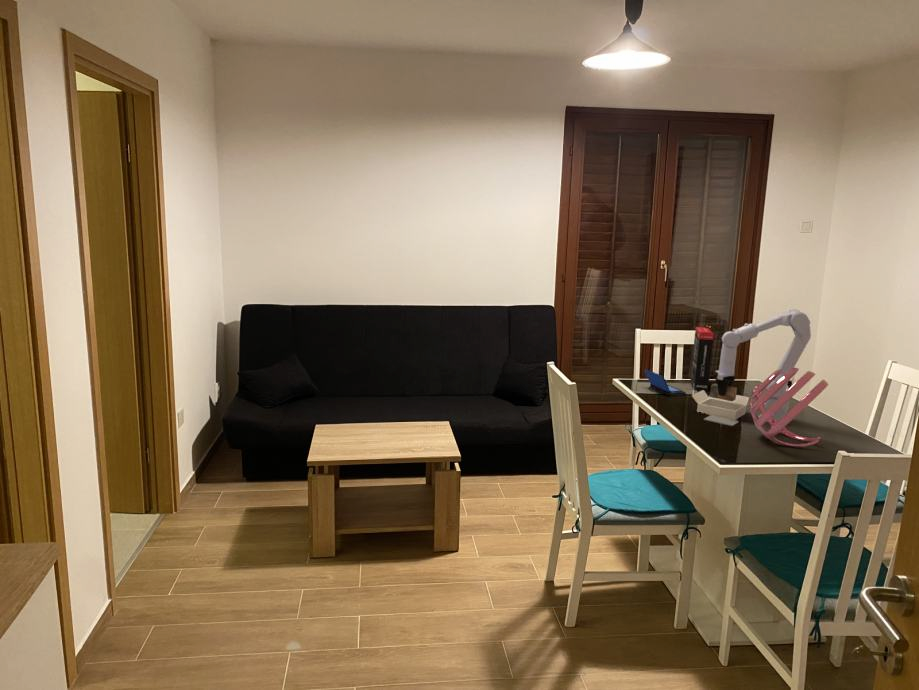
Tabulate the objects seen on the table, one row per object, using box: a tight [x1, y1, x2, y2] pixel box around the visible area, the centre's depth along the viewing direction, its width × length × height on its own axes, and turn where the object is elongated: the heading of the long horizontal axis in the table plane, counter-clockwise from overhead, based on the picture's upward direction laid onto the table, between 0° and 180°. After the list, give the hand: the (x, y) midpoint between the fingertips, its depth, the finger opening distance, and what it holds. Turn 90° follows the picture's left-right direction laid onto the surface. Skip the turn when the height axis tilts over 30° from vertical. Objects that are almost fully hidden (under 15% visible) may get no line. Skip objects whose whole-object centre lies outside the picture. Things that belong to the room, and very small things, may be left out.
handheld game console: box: [643, 368, 687, 397], centre depth 308 cm, size 16×13×9 cm
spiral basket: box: [749, 367, 829, 448], centre depth 242 cm, size 28×28×27 cm
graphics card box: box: [689, 326, 715, 392], centre depth 319 cm, size 17×7×27 cm, turn 168°
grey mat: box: [703, 415, 740, 427], centre depth 266 cm, size 11×8×1 cm
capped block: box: [709, 383, 738, 401], centre depth 276 cm, size 9×4×5 cm, turn 51°
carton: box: [691, 390, 756, 421], centre depth 279 cm, size 21×16×6 cm
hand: (723, 394), depth 277 cm, fingers closed on capped block, 4 cm apart
